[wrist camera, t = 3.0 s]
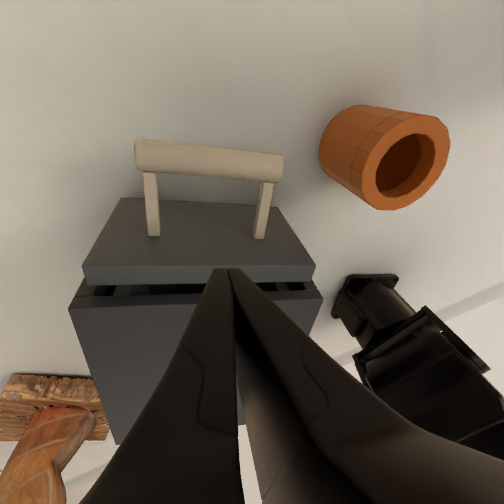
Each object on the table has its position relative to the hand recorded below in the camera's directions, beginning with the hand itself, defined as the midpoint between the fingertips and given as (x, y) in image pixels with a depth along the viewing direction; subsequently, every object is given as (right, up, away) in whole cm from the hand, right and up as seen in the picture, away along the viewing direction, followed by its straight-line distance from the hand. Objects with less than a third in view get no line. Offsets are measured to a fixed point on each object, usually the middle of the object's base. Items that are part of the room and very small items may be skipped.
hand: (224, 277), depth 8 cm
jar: (+9, +9, +11) cm, 17 cm away
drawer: (-3, +1, +13) cm, 13 cm away
